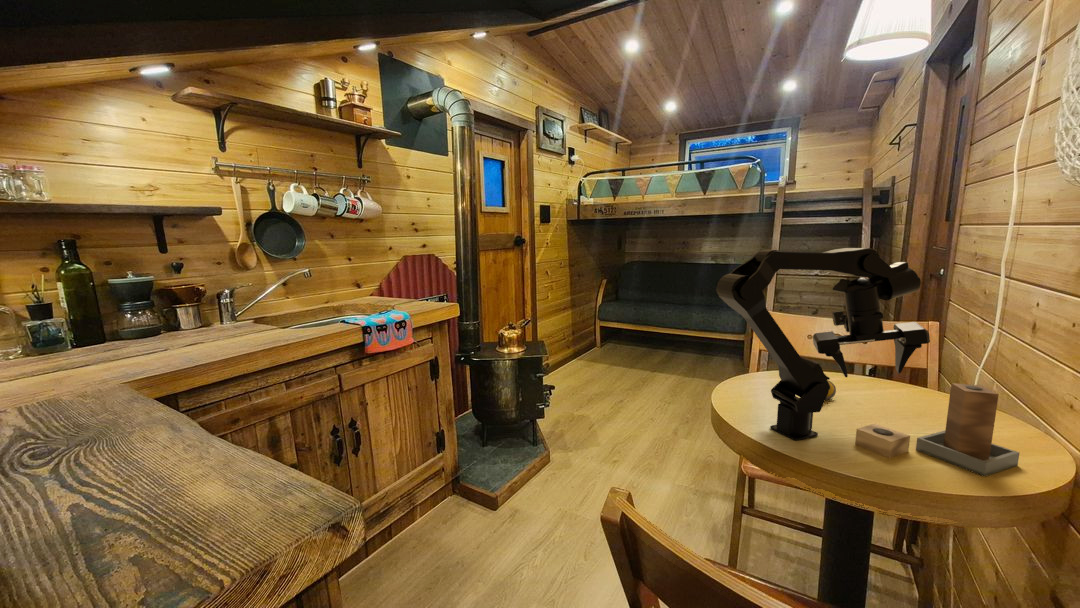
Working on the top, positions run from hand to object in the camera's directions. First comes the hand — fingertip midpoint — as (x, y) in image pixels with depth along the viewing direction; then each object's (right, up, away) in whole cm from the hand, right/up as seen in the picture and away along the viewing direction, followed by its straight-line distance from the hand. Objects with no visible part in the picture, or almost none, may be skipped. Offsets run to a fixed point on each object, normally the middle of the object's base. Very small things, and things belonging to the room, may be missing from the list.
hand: (871, 374), depth 89 cm
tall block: (+8, -13, -12) cm, 19 cm away
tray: (+8, -14, -12) cm, 20 cm away
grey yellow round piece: (+2, -10, +18) cm, 20 cm away
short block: (-4, -13, -7) cm, 16 cm away
